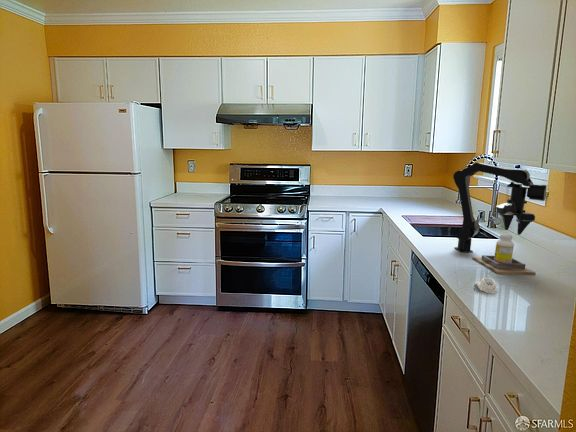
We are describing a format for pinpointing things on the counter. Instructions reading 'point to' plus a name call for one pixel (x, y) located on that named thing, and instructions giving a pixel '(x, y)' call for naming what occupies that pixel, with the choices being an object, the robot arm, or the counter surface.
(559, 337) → the counter surface
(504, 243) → the supplement bottle
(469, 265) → the counter surface
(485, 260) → the holder board
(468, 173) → the robot arm
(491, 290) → the whipped cream
